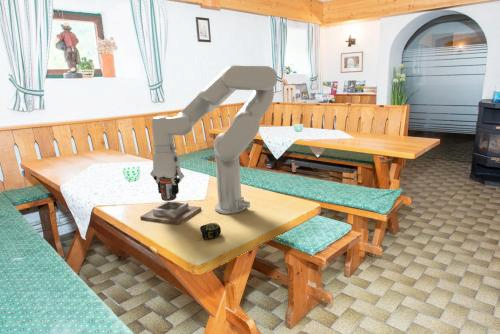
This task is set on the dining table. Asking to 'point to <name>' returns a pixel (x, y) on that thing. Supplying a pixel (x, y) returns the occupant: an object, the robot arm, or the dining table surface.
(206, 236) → the tape measure
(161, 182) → the supplement bottle
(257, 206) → the dining table surface
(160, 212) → the holder
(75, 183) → the dining table surface
